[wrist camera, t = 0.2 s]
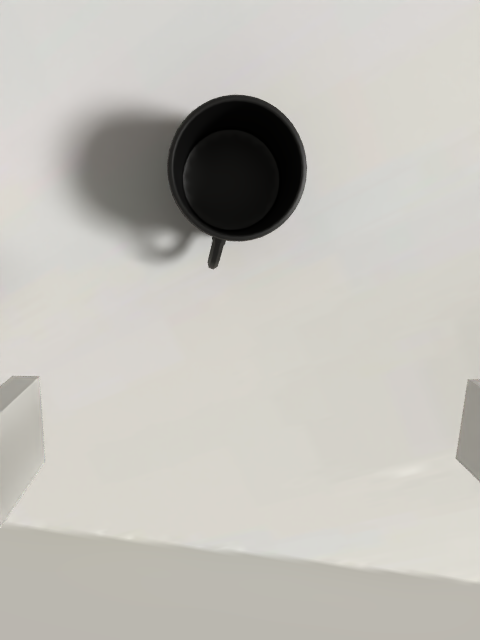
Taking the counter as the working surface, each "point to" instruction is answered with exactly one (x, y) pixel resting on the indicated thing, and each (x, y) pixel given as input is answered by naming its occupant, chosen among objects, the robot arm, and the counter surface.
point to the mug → (236, 169)
